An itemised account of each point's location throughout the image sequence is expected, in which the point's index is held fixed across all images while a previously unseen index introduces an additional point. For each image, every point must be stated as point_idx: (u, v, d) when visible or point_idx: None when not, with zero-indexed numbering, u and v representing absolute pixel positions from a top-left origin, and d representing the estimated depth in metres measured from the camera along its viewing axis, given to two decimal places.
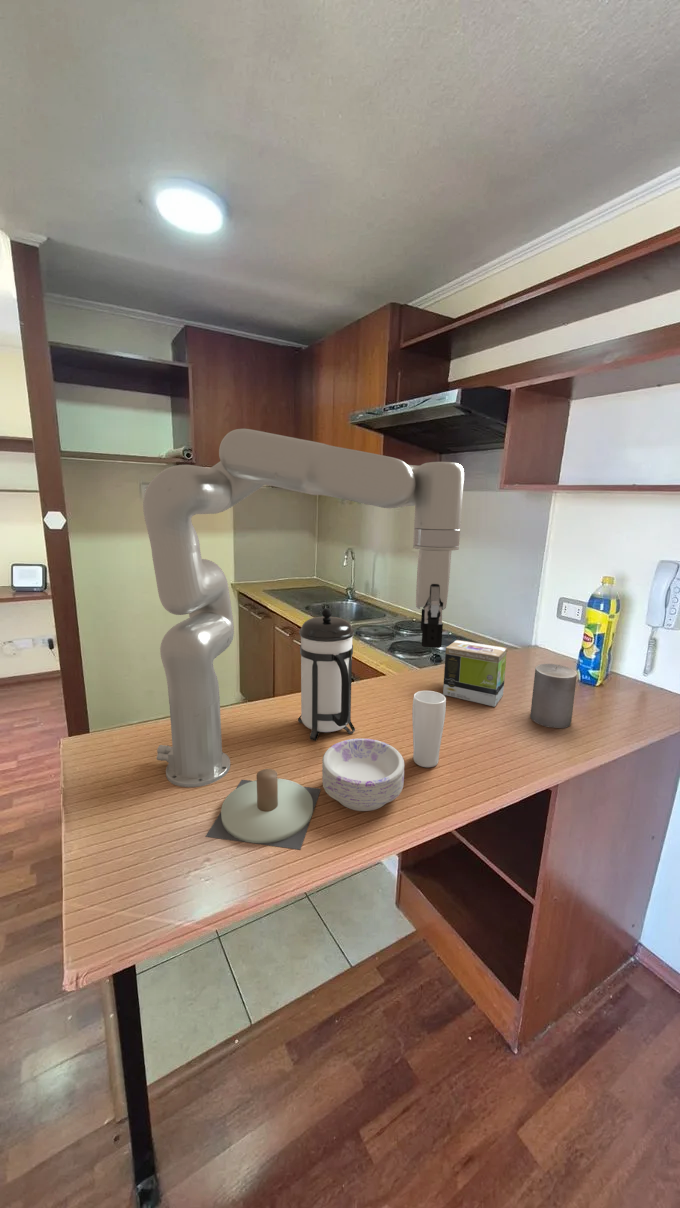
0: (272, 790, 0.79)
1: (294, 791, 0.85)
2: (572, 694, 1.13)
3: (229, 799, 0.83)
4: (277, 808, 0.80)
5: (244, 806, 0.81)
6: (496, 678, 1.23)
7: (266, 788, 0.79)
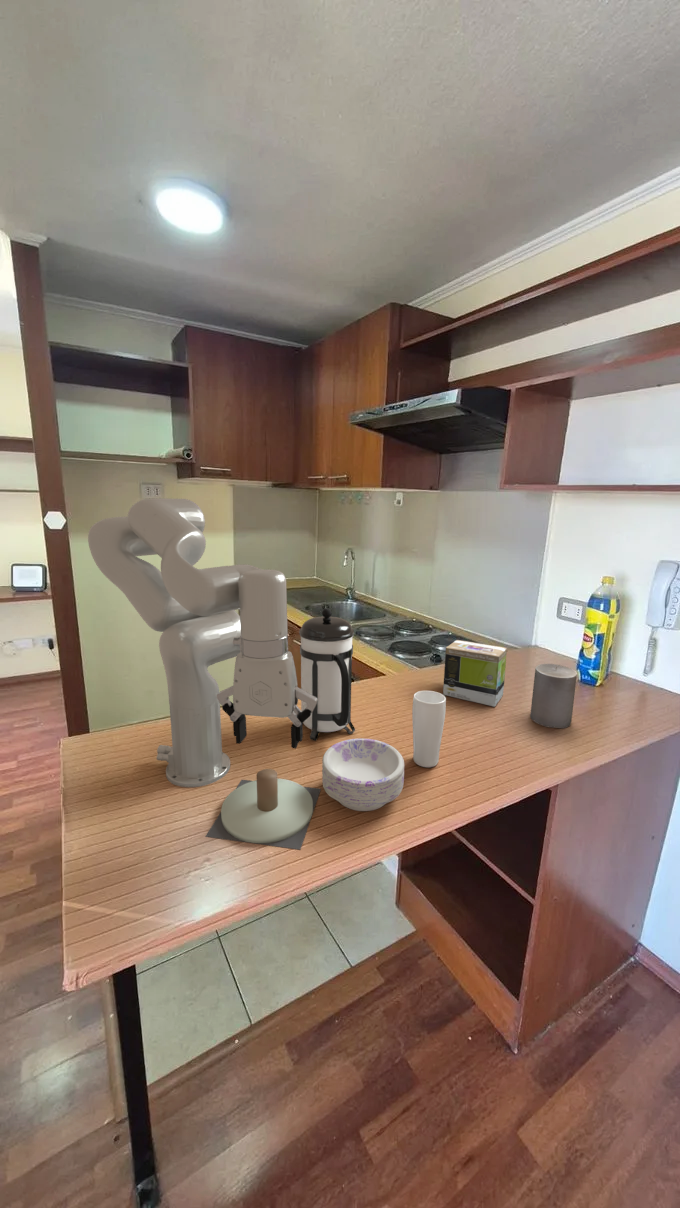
0: (272, 790, 0.79)
1: (294, 791, 0.85)
2: (572, 694, 1.13)
3: (229, 799, 0.83)
4: (277, 808, 0.80)
5: (244, 806, 0.81)
6: (496, 678, 1.23)
7: (266, 788, 0.79)
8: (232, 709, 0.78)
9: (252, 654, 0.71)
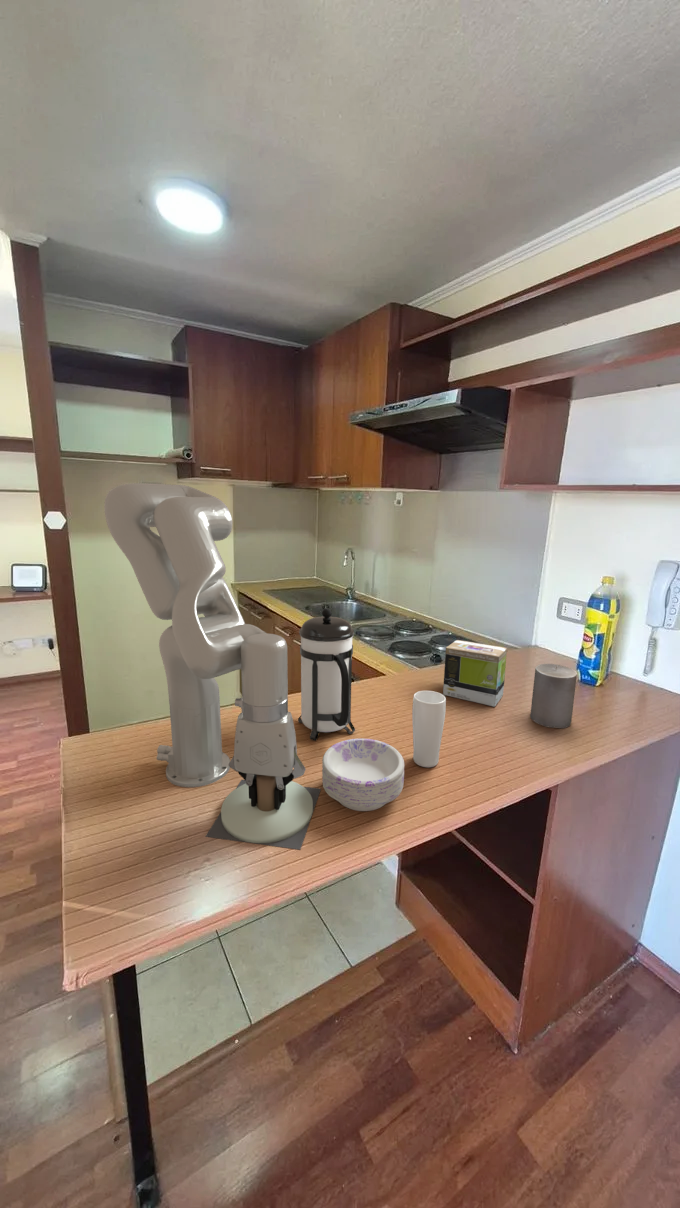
0: (272, 790, 0.79)
1: (294, 791, 0.85)
2: (572, 694, 1.13)
3: (229, 799, 0.83)
4: None
5: (244, 806, 0.81)
6: (496, 678, 1.23)
7: (266, 788, 0.79)
8: None
9: (253, 718, 0.74)
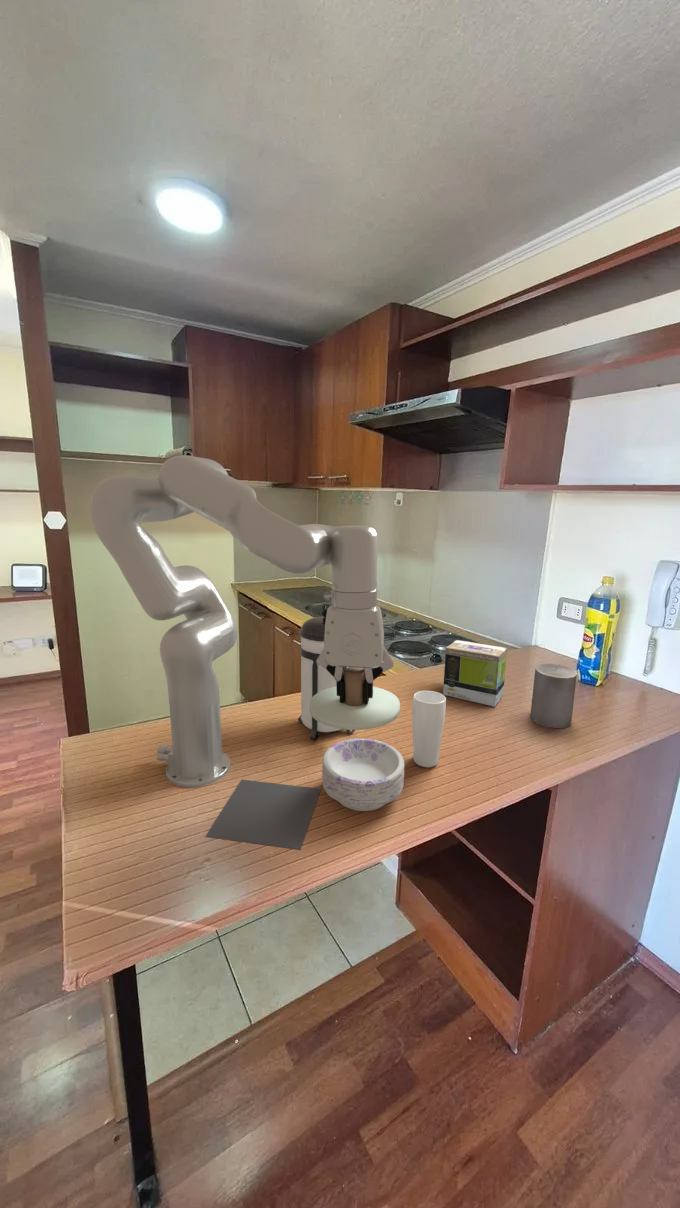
0: (360, 684, 0.79)
1: (377, 693, 0.85)
2: (572, 694, 1.13)
3: (315, 699, 0.83)
4: (365, 704, 0.81)
5: (332, 703, 0.81)
6: (496, 678, 1.23)
7: (355, 681, 0.79)
8: None
9: (346, 605, 0.74)
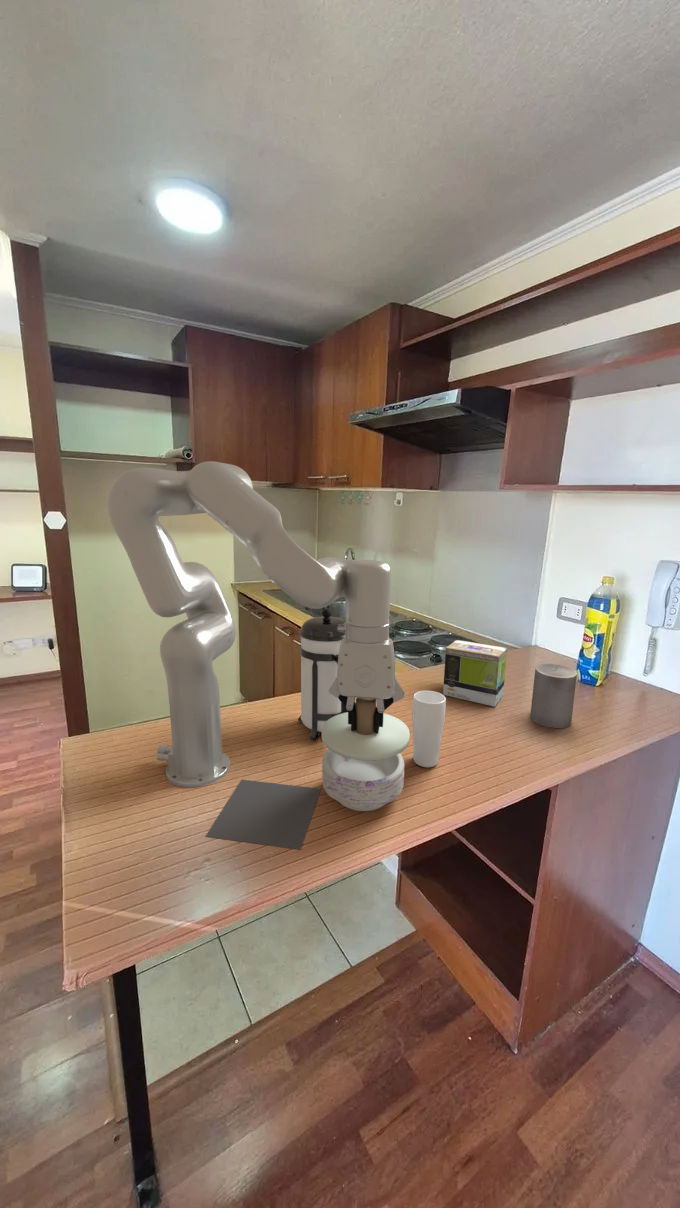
0: (372, 714, 0.81)
1: (387, 720, 0.88)
2: (572, 694, 1.13)
3: (326, 726, 0.85)
4: None
5: (343, 731, 0.83)
6: (496, 678, 1.23)
7: (367, 711, 0.81)
8: None
9: (360, 639, 0.76)
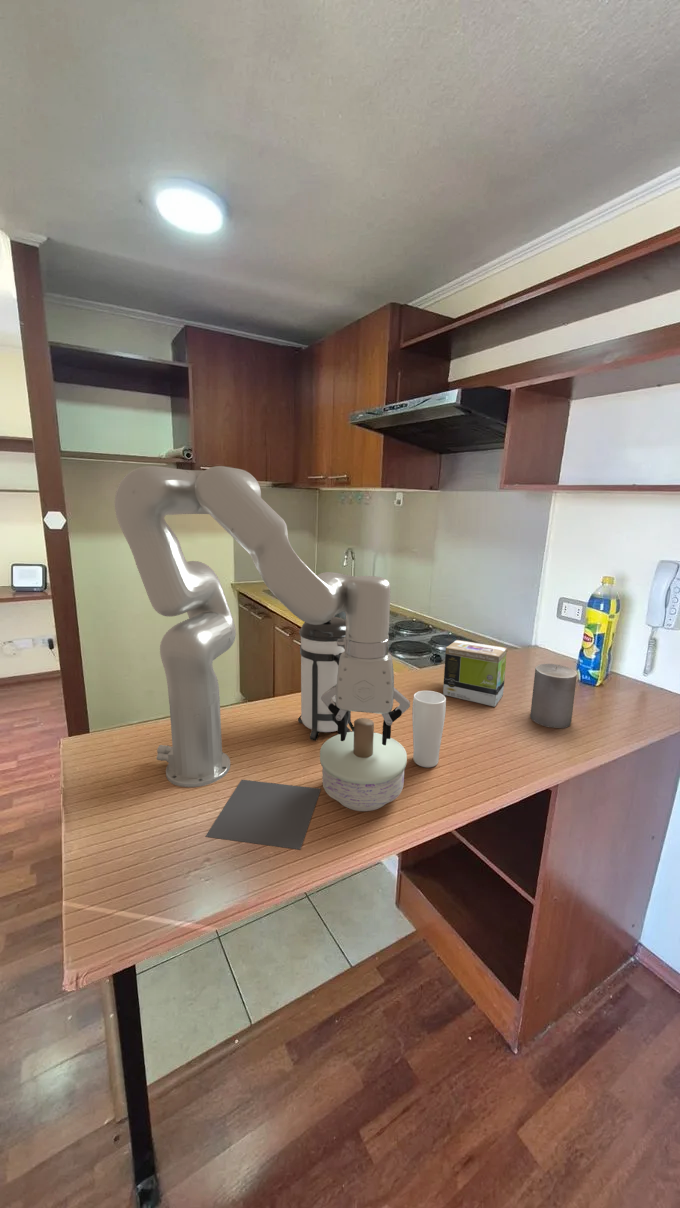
0: (370, 737, 0.83)
1: None
2: (572, 694, 1.13)
3: (325, 748, 0.86)
4: (373, 755, 0.84)
5: (341, 753, 0.84)
6: (496, 678, 1.23)
7: (365, 734, 0.82)
8: (337, 709, 0.83)
9: (359, 655, 0.77)
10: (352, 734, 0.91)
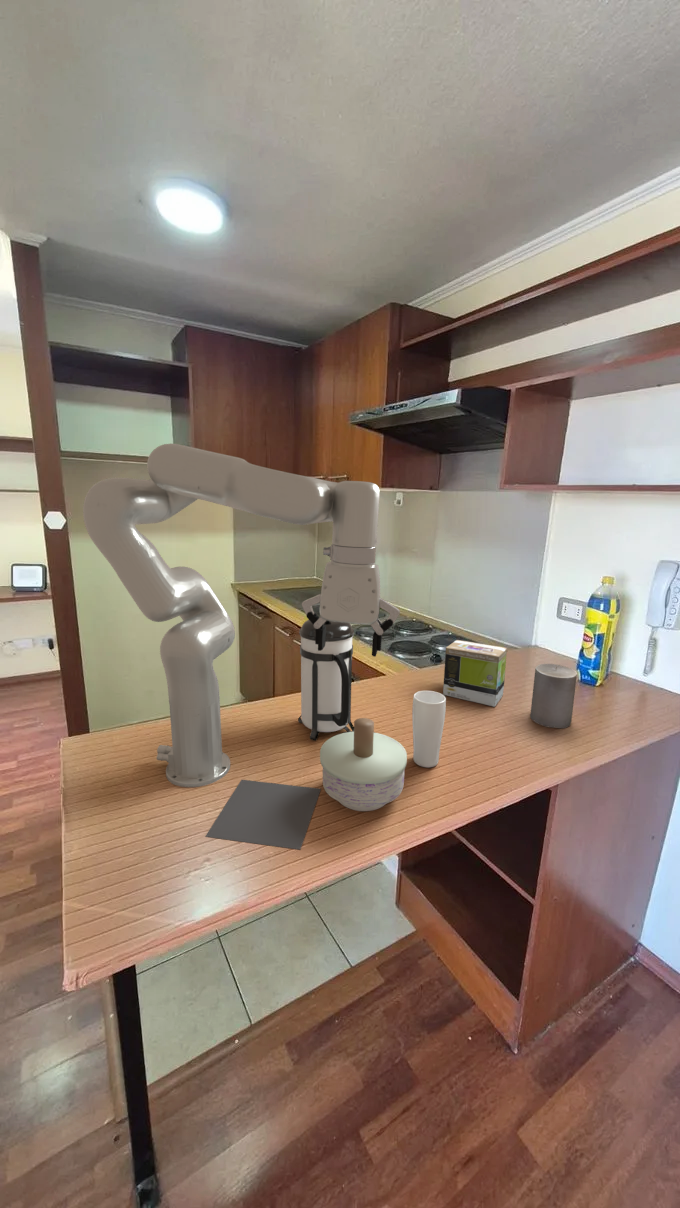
0: (370, 737, 0.83)
1: (384, 741, 0.89)
2: (572, 694, 1.13)
3: (325, 748, 0.86)
4: (373, 755, 0.84)
5: (341, 753, 0.84)
6: (496, 678, 1.23)
7: (365, 734, 0.82)
8: (316, 617, 0.81)
9: (345, 560, 0.75)
10: (352, 734, 0.91)
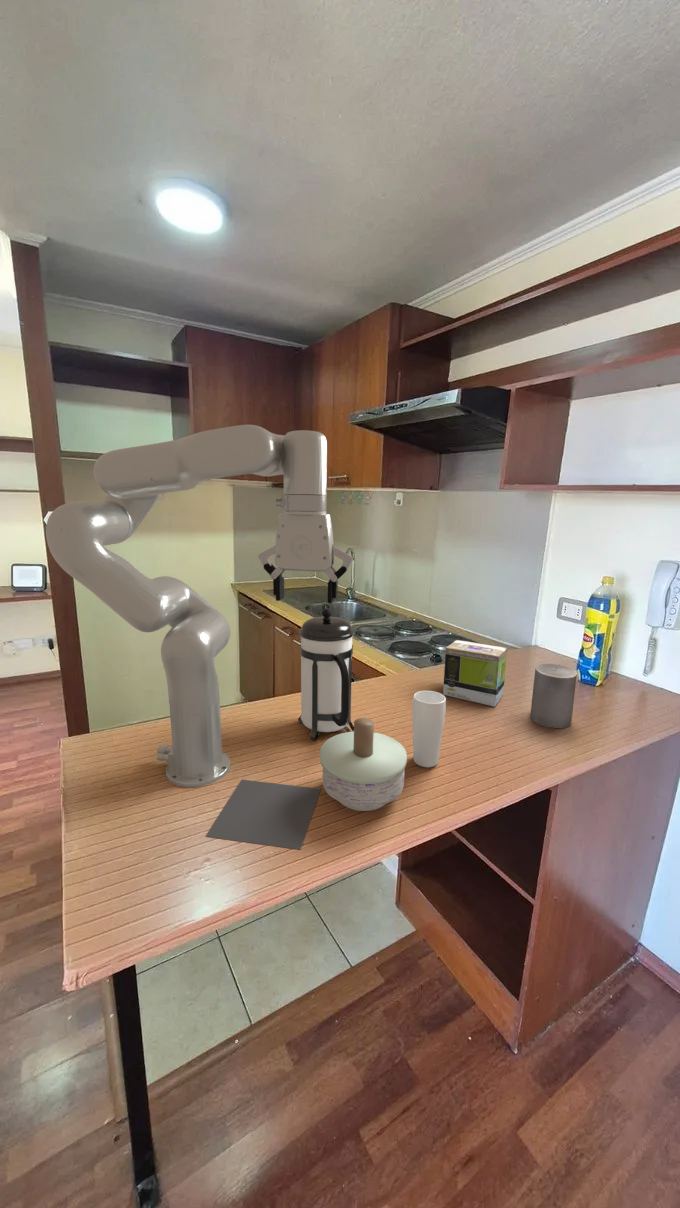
0: (369, 737, 0.83)
1: (384, 741, 0.89)
2: (572, 694, 1.13)
3: (325, 747, 0.86)
4: (373, 755, 0.84)
5: (341, 753, 0.84)
6: (496, 678, 1.23)
7: (365, 734, 0.82)
8: (272, 568, 0.84)
9: (295, 507, 0.78)
10: (352, 734, 0.91)
